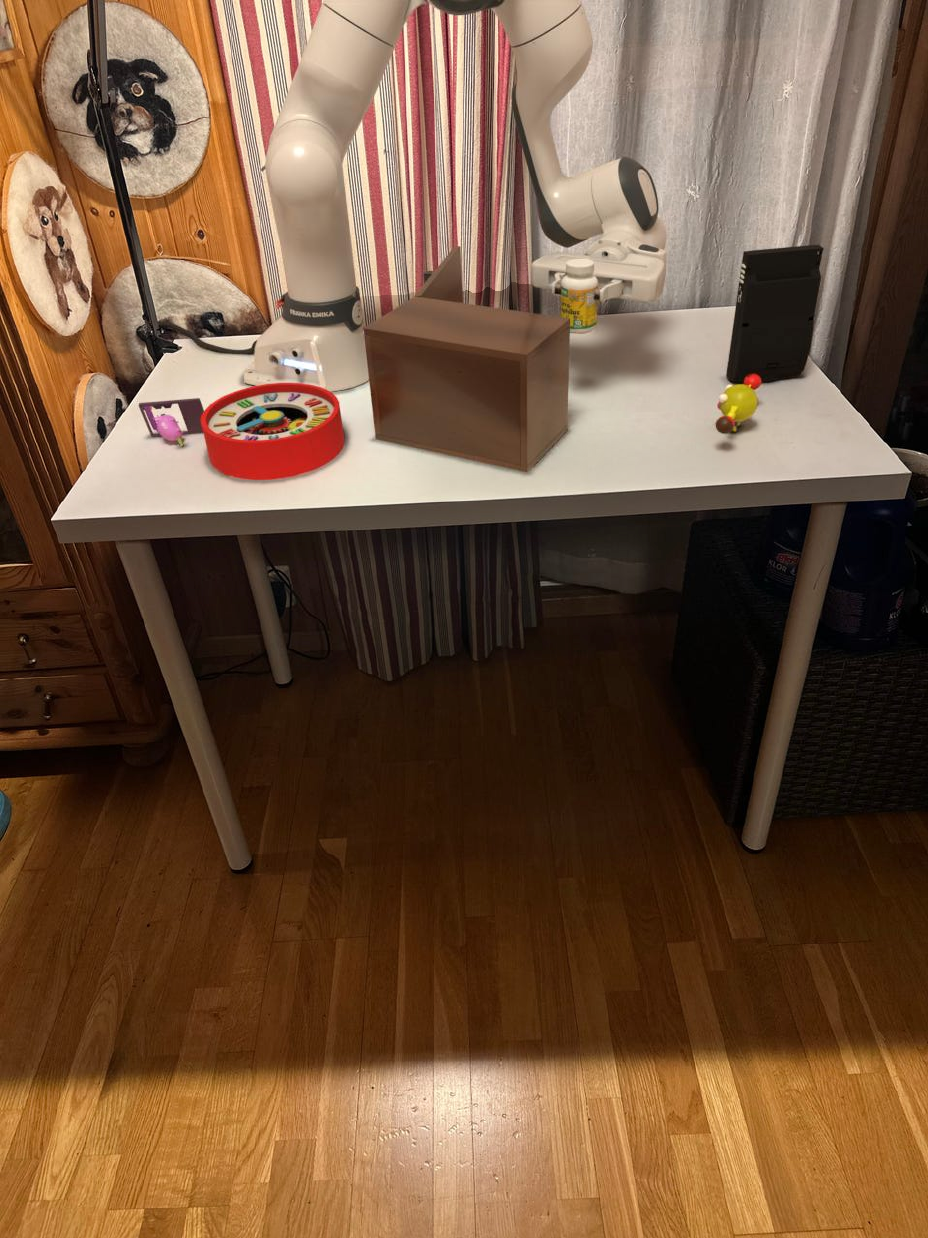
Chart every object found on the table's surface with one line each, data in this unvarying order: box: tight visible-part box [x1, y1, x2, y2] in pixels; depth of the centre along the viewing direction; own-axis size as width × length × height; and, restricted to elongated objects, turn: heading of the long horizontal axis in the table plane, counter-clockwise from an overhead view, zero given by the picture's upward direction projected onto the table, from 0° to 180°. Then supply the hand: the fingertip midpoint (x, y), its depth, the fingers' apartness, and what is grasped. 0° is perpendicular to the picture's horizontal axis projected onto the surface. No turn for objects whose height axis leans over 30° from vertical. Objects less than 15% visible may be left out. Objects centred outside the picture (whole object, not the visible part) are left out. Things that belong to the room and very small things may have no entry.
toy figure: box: [715, 374, 763, 435], centre depth 133 cm, size 18×6×7 cm, turn 152°
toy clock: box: [201, 383, 345, 481], centre depth 135 cm, size 20×6×20 cm
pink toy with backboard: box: [138, 397, 205, 447], centre depth 138 cm, size 7×5×9 cm
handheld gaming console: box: [725, 244, 824, 384], centre depth 143 cm, size 12×5×20 cm, turn 98°
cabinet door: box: [414, 245, 464, 303], centre depth 153 cm, size 6×25×17 cm, turn 166°
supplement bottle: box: [560, 259, 598, 335], centre depth 136 cm, size 5×5×10 cm
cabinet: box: [363, 295, 571, 473], centre depth 132 cm, size 14×25×17 cm, turn 61°
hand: (577, 292), depth 134 cm, fingers closed on supplement bottle, 5 cm apart
